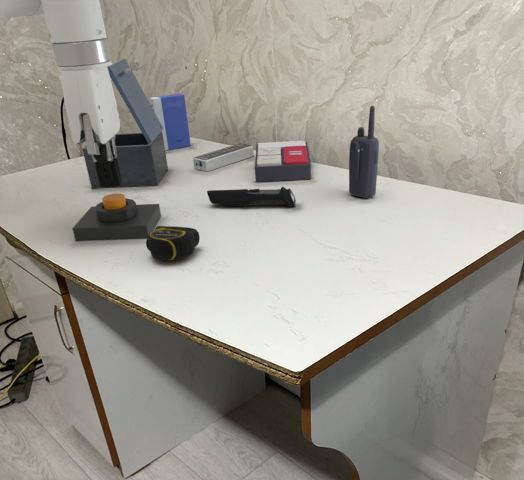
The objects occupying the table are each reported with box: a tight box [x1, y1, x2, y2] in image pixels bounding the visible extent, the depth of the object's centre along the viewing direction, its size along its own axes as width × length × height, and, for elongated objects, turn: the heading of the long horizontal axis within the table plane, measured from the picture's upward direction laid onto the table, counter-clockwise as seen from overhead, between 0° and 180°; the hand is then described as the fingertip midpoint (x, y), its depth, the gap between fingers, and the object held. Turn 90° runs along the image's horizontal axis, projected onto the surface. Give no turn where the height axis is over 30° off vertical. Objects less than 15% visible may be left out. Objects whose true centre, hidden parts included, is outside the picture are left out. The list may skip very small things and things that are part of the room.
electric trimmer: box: [206, 186, 297, 208], centre depth 94 cm, size 4×16×3 cm, turn 83°
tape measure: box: [145, 225, 200, 261], centre depth 78 cm, size 7×7×4 cm
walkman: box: [149, 92, 192, 152], centre depth 129 cm, size 8×3×12 cm, turn 117°
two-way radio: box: [348, 105, 380, 199], centre depth 92 cm, size 6×4×15 cm
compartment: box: [81, 132, 169, 189], centre depth 111 cm, size 14×12×8 cm
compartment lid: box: [107, 57, 163, 144], centre depth 104 cm, size 14×12×5 cm
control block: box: [72, 197, 162, 242], centre depth 89 cm, size 12×10×4 cm
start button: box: [101, 192, 127, 210], centre depth 87 cm, size 4×4×2 cm
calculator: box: [254, 140, 312, 183], centre depth 111 cm, size 11×4×15 cm
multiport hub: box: [192, 142, 254, 173], centre depth 118 cm, size 4×14×2 cm, turn 136°
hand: (111, 185), depth 86 cm, fingers closed
